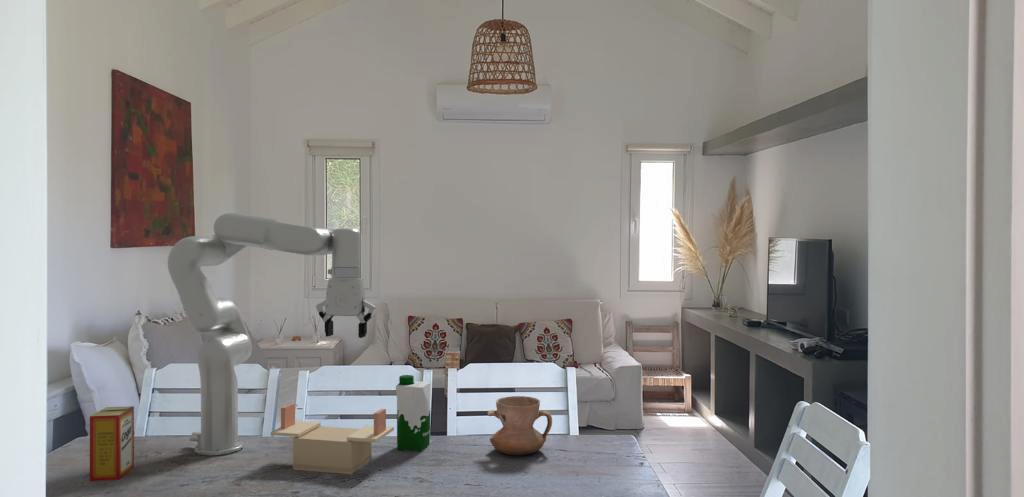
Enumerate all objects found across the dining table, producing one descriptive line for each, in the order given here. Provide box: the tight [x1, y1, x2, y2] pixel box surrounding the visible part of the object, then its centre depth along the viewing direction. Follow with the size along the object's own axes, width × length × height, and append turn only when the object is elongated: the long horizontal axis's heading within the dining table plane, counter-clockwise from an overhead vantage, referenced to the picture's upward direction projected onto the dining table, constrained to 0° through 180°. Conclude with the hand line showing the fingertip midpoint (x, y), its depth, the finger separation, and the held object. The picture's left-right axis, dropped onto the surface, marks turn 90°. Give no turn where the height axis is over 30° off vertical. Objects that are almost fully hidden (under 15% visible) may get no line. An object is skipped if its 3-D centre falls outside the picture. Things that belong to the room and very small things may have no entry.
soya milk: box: [395, 374, 432, 452], centre depth 195 cm, size 9×9×20 cm
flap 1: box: [270, 403, 322, 438], centre depth 182 cm, size 8×12×6 cm
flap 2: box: [347, 408, 395, 443], centre depth 177 cm, size 8×12×6 cm
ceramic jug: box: [487, 395, 553, 456], centre depth 191 cm, size 18×14×14 cm
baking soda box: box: [89, 406, 135, 482], centre depth 171 cm, size 10×6×16 cm
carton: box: [292, 425, 373, 475], centre depth 179 cm, size 16×12×8 cm
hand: (345, 336), depth 188 cm, fingers open, 9 cm apart
